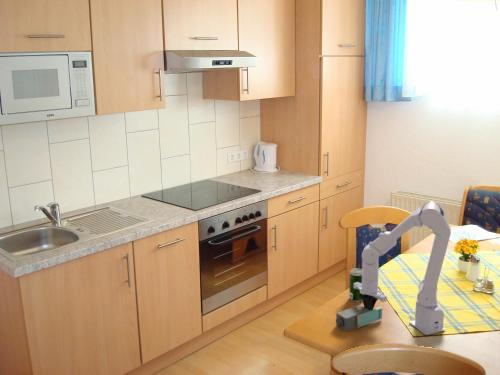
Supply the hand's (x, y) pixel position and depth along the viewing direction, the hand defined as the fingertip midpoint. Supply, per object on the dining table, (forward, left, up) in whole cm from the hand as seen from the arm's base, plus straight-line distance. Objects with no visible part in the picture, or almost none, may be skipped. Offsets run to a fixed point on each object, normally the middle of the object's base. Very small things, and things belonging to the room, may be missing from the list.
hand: (368, 312), depth 196 cm
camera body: (-2, +8, -2) cm, 9 cm away
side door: (-4, +2, -1) cm, 5 cm away
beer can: (+15, -4, -2) cm, 16 cm away
